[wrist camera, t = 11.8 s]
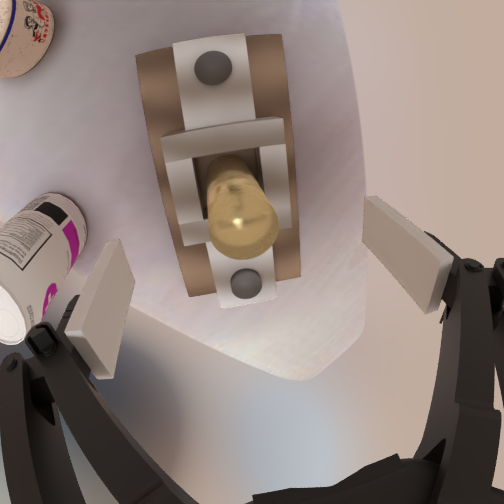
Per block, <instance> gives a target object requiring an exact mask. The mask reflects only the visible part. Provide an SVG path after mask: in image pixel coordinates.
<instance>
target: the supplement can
mask: <svg viewBox="0 0 504 504" xmlns="http://www.w3.org/2000/svg"><path fill="white" fill-rule="evenodd" d="M86 236H87V230H86V224H85V220H84V218H83V216H82V214H81V212H80V210H79V208H78V207H77V206H76V205H75V204H74V203H73V202H72V201H71V200H70V199H68V198H66V197H64V196H62V195H60V194H53V193H47V194H44V195H41V196H38V197H37V198H36V199H35V200H33V201H32V202H31V203H29V204H28V205H27V206H26V207H24V208H23V209H22V210H21V211H20V212H18V213H17V214H16V215H15V216H14V217H12V218H11V219H10V220H9V221H8V222H7V223H5V224H4V225H3V226H2V227H1V228H0V342H1V343H5V344H8V345H11V344H18V343H20V342H21V341H22V340H24V339H25V337H26V335H27V333H28V332H29V330H30V329H31V328H32V327H34V326H35V325H37V324H39V323H40V322H41V320H42V318H43V316H44V315H45V313H46V311H47V309H48V307H49V305H50V303H51V301H52V299H53V298H54V296H55V294H56V292H57V291H58V289H59V287H60V286H61V284H62V282H63V280H64V279H65V277H66V275H67V274H68V272H69V270H70V269H71V267H72V265H73V264H74V262H75V261H76V259H77V257H78V256H79V254H80V253H81V251H82V249H83V247H84V246H85V244H86Z"/></svg>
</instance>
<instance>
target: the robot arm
mask: <svg viewBox="0 0 504 504" xmlns="http://www.w3.org/2000/svg"><path fill="white" fill-rule="evenodd" d="M362 242H363V243H364V244H365V245H366V246H367V247H368V248H369V249H370V250H371V252H372V253H373V254H374V255H375V256H376V257H377V258H378V259H379V260H380V262H381V263H382V264H383V265H384V266H385V267H386V268H387V269H388V271H390V273H391V274H392V275H393V276H394V277H395V279H396V280H397V281H398V282H399V283H400V284H401V285H402V287H403V288H404V289H405V290H406V292H407V293H408V294H409V295H410V296H411V298H412V299H413V300H414V301H415V302H416V304H417V305H418V306H419V307H420V309H421V310H422V311H423V312H424V313H425V314H428V313H431V312H433V311H436V310H438V308H439V305H440V303H441V300H443V301H444V302H445V303H446V307H445V309H444V312H443V315H442V318H441V320H440V323H442V321H443V330H442V340H441V348H440V357H439V363H438V370H437V376H436V381H435V387H434V392H433V397H432V402H431V407H430V411H429V415H428V420H427V423H426V428H425V431H424V435H423V438H422V441H421V443H420V445H419V447H418V449H417V451H416V453H415V455H414V457H413V459H412V458H408V459H400V458H399V456H398V454H394V455H392V456H390V457H387V458H385V459H383V460H380V461H377V462H375V463H372V464H370V465H367V466H365V467H363V468H362V469H360V470H358V471H357V472H355V473H354V474H352V475H350V476H349V477H347V478H346V479H344V480H342V481H340V482H339V483H337V484H335V485H333V486H330V487H315V488H288V489H283V490H278V491H273V492H267V493H261V494H255V495H252V497H253V501H251V502H248V503H246V504H504V491H503V490H500V489H498V488H495V487H492V481H493V477H494V472H495V466H496V460H497V454H498V447H499V439H500V429H501V412H500V410H495V409H494V407H493V403H494V375H495V374H494V373H495V367H496V371H497V376H498V380H499V385H500V390H501V395H502V401H503V406H504V258H498V259H496V261H495V264H494V267H493V268H484V266H483V265H482V264H481V263H479V262H478V261H476V260H473V259H469V258H465V259H461V258H460V257H459V256H458V255H456V254H455V253H454V252H453V251H452V250H451V249H449V248H448V247H447V246H445V244H443V243H442V242H440V240H439V239H437V238H436V237H435V236H434V235H432V234H430V233H427V232H425V231H422V230H421V229H420V228H418V227H417V226H416V225H414V224H413V223H412V222H411V221H409V220H408V219H407V218H406V217H404V216H403V215H402V214H400V213H399V212H398V211H397V210H395V209H394V208H392V207H391V206H390V205H388V204H387V203H386V202H384V201H383V200H382V199H380V198H379V197H377V196H369V197H365V198H364V218H363V233H362ZM134 286H135V280H134V277H133V274H132V272H131V269H130V266H129V264H128V261H127V258H126V256H125V253H124V250H123V247H122V244H121V241H120V239H117V240H112V241H108V242H106V244H105V246H104V248H103V250H102V252H101V254H100V255H99V257H98V259H97V261H96V263H95V265H94V267H93V269H92V271H91V273H90V275H89V277H88V279H87V281H86V284H85V286H84V288H83V290H82V292H81V294H80V295H76V296H75V297H74V298H73V299H72V300H71V301H70V302H69V304H68V306H67V308H66V310H65V313H64V314H63V317H62V318H63V319H61V321H60V323H59V326H58V328H57V330H56V331H55V330H54V329H53V327H52V325H51V324H50V323H48V322H42V323H39V324H37V325H35V326H34V327H32V328H31V329H30V330H29V332H28V333H27V335H26V337H25V343H26V345H27V346H28V347H29V349H30V350H31V351H32V353H33V354H34V356H35V357H32V358H29V359H26V360H25V359H24V358H23V357H22V355H21V354H20V353H16V352H15V353H11V354H10V355H8V356H7V357H5V358H4V360H3V362H2V364H1V366H0V435H1V446H2V454H3V462H4V468H5V475H6V481H7V486H8V491H9V496H10V500H11V504H86V503H85V500H84V498H83V495H82V492H81V490H80V487H79V484H78V481H77V478H76V475H75V472H74V469H73V467H72V463H71V460H70V456H69V453H68V449H67V446H66V442H65V438H64V434H63V430H62V426H61V421H60V417H59V412H58V408H59V410H60V412H61V414H62V416H63V418H64V420H65V422H66V424H67V425H68V427H69V429H70V431H71V433H72V434H73V436H74V438H75V440H76V441H77V443H78V445H79V446H80V448H81V450H82V451H83V453H84V454H85V456H86V458H87V459H88V461H89V462H90V464H91V465H92V467H93V468H94V470H95V471H96V473H97V474H98V476H99V477H100V479H101V480H102V481H103V483H104V484H105V485H106V487H107V488H108V490H109V491H110V492H111V493H112V495H113V496H114V497H115V499H116V500H117V501H118V502H119V504H199V503H198V502H196V501H195V500H194V499H193V498H192V497H190V496H189V495H188V494H187V493H186V492H185V491H184V490H183V489H182V488H181V487H180V486H179V485H177V484H176V482H174V481H173V480H172V479H171V478H170V477H169V476H168V475H167V474H166V473H165V472H164V471H163V470H162V469H161V468H160V466H159V465H158V464H157V463H156V462H155V461H154V460H153V459H152V458H151V457H150V456H149V455H148V454H147V452H146V451H145V450H144V449H143V448H142V447H141V446H140V445H139V443H138V442H137V441H136V440H135V439H134V438H133V436H132V435H131V434H130V433H129V432H128V430H127V429H126V428H125V426H124V425H123V424H122V423H121V422H120V420H119V419H118V418H117V417H116V415H115V414H114V412H113V411H112V410H111V408H110V407H109V406H108V404H107V403H106V402H105V400H104V399H103V398H102V396H101V395H100V394H99V392H98V390H97V389H96V387H95V386H94V385H93V383H92V382H91V380H90V379H89V375H90V372H91V371H92V373H93V374H94V375H95V377H96V378H97V379H113V377H114V372H115V366H116V361H117V356H118V352H119V347H120V342H121V338H122V333H123V329H124V324H125V321H126V316H127V312H128V308H129V304H130V301H131V297H132V293H133V289H134ZM494 363H495V364H494ZM57 406H58V407H57Z"/></svg>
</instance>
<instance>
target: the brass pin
mask: <svg viewBox="0 0 504 504" xmlns="http://www.w3.org/2000/svg"><path fill="white" fill-rule="evenodd" d="M206 184H207V205H208V224H209V236H210V239H211V241H212V244H213V245H214V247H215V248H216V249H217V250H218V251H219V252H220V253H221V254H223V255H225V256H227V257H229V258H232V259H237V260H247V259H252V258H255V257H258V256H260V255H262V254H263V253H265V252H266V251H267V250H268V249H269V248H270V247H271V246H272V245H273V243H274V242H275V240H276V238H277V236H278V232H279V220H278V216H277V214H276V212H275V210H274V208H273V207H272V205H271V203H270V202H269V200H268V199H267V197H266V195H265V194H264V192H263V190H262V189H261V187H260V186H259V184H258V182H257V181H256V179H255V178H254V176H253V174H252V173H251V171H250V170H249V168H248V167H247V165H246V163H245V162H244V161H243V160H242V159H241V158H239V157H237V156H234V155H222V156H219V157H217V158H216V159H214V160H213V161H212V162H211V163H210V165H209V166H208V169H207V172H206Z"/></svg>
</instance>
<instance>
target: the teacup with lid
mask: <svg viewBox="0 0 504 504" xmlns="http://www.w3.org/2000/svg"><path fill="white" fill-rule="evenodd" d="M53 32H54V18H53V14H52V12H51V11H50V9H49V8H48V7H47V6H45V5H43V4H41V3H38V2H36V1H34V0H0V78H11V77H17V76H20V75H22V74H24V73H26V72H27V71H29V70H30V69H31V68H33V67H34V66H35V65H36V64H37V63H38V62H39V60H40V59H41V58H42V57H43V55H44V54H45V52H46V50H47V48H48V46H49V44H50V42H51V39H52V36H53Z"/></svg>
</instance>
